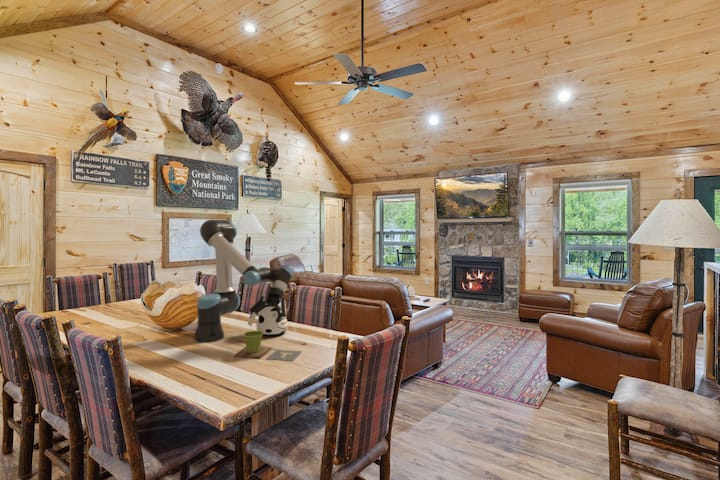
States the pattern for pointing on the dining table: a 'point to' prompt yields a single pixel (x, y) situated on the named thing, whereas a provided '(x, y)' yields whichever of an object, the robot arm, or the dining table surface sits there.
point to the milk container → (271, 321)
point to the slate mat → (284, 355)
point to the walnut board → (256, 355)
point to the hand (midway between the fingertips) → (260, 326)
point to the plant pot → (253, 341)
